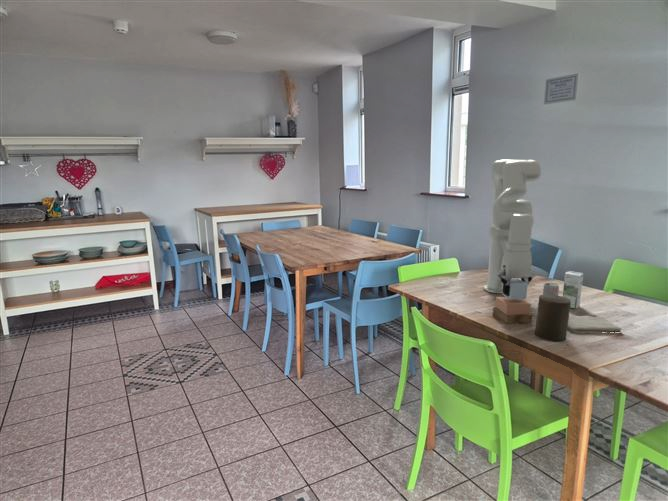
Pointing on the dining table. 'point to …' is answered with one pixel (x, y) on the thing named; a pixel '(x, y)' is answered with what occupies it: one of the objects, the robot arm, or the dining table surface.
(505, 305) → the terracotta block
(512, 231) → the robot arm
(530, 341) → the dining table surface
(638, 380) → the dining table surface
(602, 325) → the washcloth
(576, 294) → the syrup box
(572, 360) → the dining table surface
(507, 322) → the walnut base block
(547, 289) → the energy drink
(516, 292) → the blue-grey cube
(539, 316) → the pillar candle
